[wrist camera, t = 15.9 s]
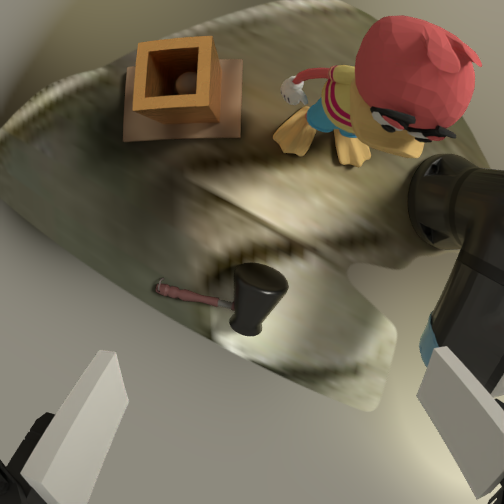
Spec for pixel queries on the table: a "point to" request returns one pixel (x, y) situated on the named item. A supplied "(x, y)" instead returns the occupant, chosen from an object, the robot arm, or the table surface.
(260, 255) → the table surface
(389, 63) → the toy
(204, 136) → the post
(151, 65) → the frame
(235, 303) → the pink handled mallet
